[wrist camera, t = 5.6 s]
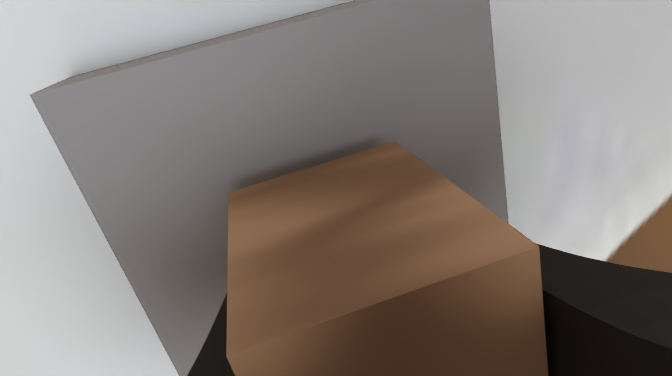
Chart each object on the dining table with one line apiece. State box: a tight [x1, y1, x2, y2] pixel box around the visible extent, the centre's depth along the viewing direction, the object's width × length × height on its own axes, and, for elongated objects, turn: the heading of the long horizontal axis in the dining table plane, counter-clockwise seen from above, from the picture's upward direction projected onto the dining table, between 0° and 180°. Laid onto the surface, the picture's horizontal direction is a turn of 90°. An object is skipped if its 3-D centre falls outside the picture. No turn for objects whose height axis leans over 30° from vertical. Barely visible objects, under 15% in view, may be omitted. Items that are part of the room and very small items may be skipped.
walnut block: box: [226, 141, 548, 376], centre depth 10 cm, size 4×4×6 cm
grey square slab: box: [30, 0, 508, 376], centre depth 15 cm, size 12×12×3 cm
